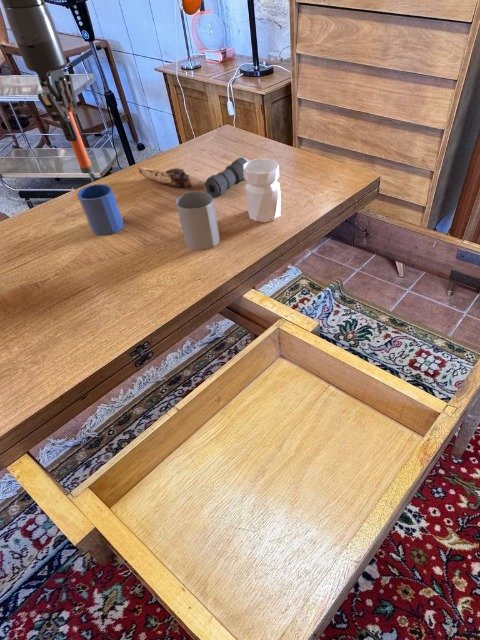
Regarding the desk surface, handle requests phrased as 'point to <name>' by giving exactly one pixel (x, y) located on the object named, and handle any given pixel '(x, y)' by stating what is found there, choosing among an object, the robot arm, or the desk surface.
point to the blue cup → (101, 209)
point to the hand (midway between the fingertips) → (74, 137)
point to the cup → (198, 220)
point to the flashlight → (226, 178)
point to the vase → (262, 189)
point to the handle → (80, 149)
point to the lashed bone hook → (167, 176)
